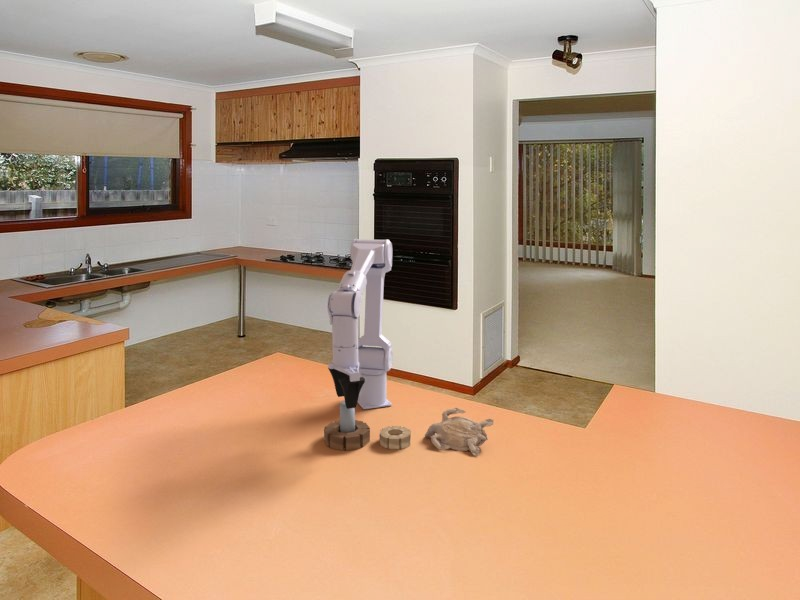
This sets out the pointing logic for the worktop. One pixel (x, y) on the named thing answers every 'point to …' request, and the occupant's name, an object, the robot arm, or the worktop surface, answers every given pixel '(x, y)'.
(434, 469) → the worktop surface
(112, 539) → the worktop surface
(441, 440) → the turtle
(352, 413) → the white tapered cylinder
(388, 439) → the beige notched ring
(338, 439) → the brown segmented ring
